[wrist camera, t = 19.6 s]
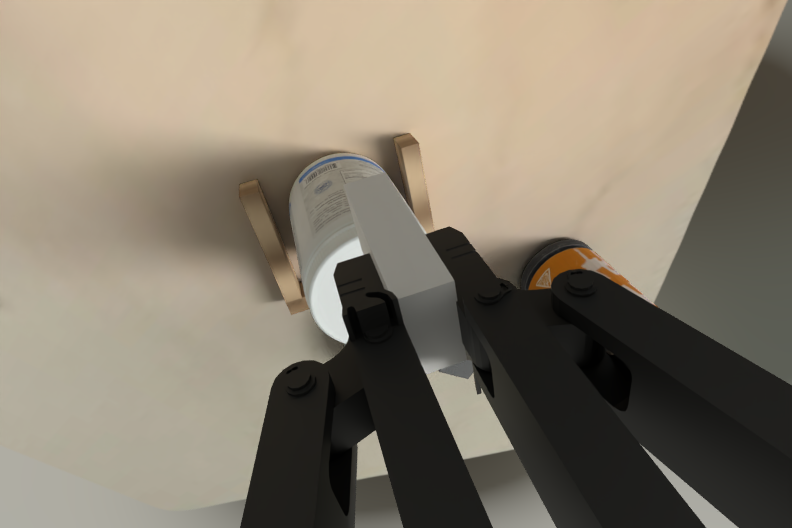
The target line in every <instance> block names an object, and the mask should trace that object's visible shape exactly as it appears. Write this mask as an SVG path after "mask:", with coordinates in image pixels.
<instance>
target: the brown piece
mask: <svg viewBox="0 0 792 528" xmlns="http://www.w3.org/2000/svg"><path fill="white" fill-rule="evenodd" d="M394 143H395V148H396V152H397V157H398V162H399V166H400V171H401V176H402V181H403V185H404V190H405V195H406V199H407V204H408V206H409V207H410V209H411V210H412V212H413V213H414V215H415V216H416V218H417V219H418V221H419V222H420V224H421V225H422V227H423V228H424V230H425V231H426V233H431V232H434V225H433V219H432V214H431V208H430V203H429V197H428V192H427V186H426V181H425V175H424V170H423V164H422V159H421V153H420V148H419V143H418V142H417V141H416V139H415V138H414V137H413V136H412V135H411V134H410V133H409V134H406V135H403V136H399V137H396V138H394ZM239 197H240V200H241V202H242V204H243V206H244V209H245V211H246V213H247V215H248V218H249V220H250V222H251V225H252V227H253V229H254V231H255V234H256V236H257V238H258V240H259V243H260V245H261V247H262V249H263V252H264V254H265V256H266V258H267V261H268V263H269V265H270V267H271V270H272V272H273V274H274V276H275V279H276V281H277V283H278V286H279V288H280V290H281V292H282V295H283V297H284V299H285V301H286V304H287V306H288V308H289V310H290V313H291V315H292V314H295V313H298V312H301V311H304V310H307V309H310V308H309V307H308V304H307V301H306V298H305V294H304V289H303V284H302V282H299V281H298V278H297V276H296V273H295V271H294V269H293V266H292V264H291V261H290V259H289V256H288V254H287V251H286V249H285V246H284V244H283V242H282V239H281V237H280V234H279V232H278V229H277V227H276V224H275V222H274V220H273V217H272V215H271V212H270V210H269V207H268V205H267V202H266V200H265V197H264V195H263V193H262V190H261V188H260V185H259V183H258V180H257V179H256V180H253V181H249V182H246V183H242V184H239Z"/></svg>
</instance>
